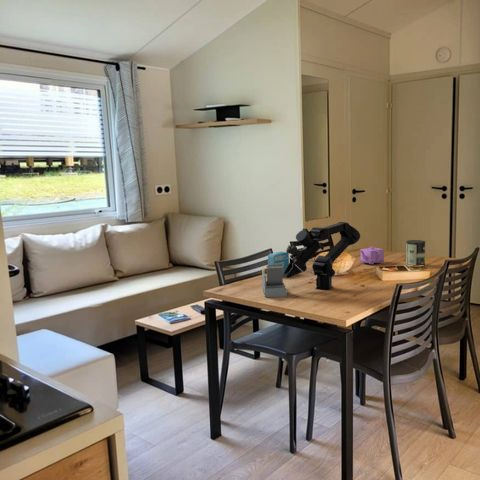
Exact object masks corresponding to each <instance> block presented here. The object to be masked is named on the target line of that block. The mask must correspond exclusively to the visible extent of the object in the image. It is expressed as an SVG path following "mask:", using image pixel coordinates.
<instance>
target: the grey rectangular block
mask: <svg viewBox="0 0 480 480" xmlns="http://www.w3.org/2000/svg"><path fill="white" fill-rule="evenodd" d="M283 280H284V279H283V275H282V265H268V264H267V265H266V281H267V286H277V285H283V283H284V281H283Z"/></svg>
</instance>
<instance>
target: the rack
mask: <svg viewBox="0 0 480 480" xmlns="http://www.w3.org/2000/svg"><path fill="white" fill-rule="evenodd" d="M261 279H262V292H263V295H265V296H264V298H283V297H285V298H286V297H288V296H287V291H288V290H287V287H286V285H285V283H284V282H283V285H277V286H267V274H266V269H265V267H262V269H261Z"/></svg>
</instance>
